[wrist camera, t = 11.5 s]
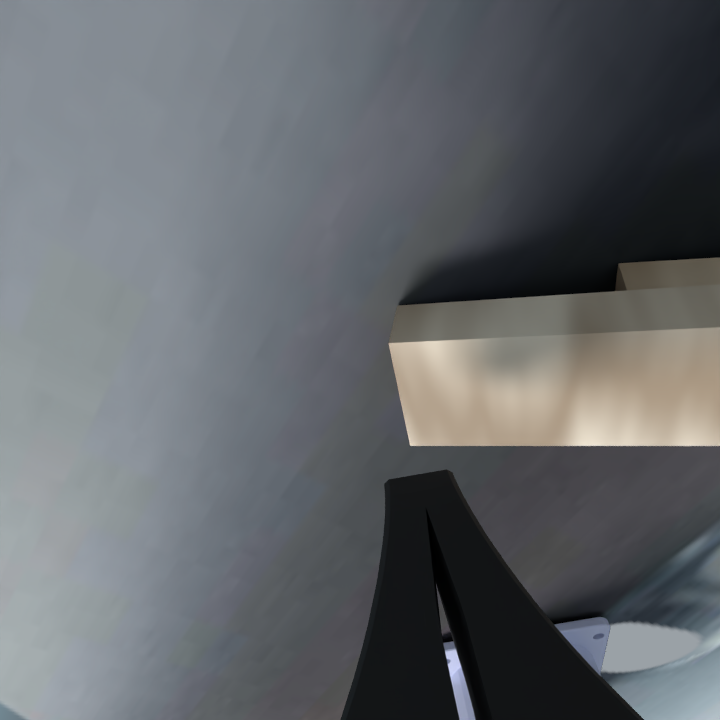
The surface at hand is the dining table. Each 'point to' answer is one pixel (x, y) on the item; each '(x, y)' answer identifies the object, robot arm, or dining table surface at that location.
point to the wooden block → (562, 369)
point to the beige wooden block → (668, 274)
